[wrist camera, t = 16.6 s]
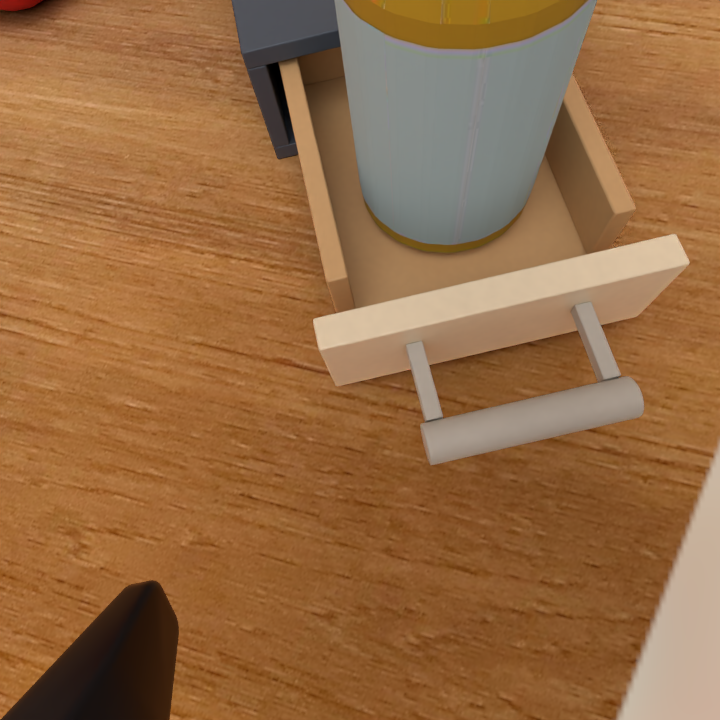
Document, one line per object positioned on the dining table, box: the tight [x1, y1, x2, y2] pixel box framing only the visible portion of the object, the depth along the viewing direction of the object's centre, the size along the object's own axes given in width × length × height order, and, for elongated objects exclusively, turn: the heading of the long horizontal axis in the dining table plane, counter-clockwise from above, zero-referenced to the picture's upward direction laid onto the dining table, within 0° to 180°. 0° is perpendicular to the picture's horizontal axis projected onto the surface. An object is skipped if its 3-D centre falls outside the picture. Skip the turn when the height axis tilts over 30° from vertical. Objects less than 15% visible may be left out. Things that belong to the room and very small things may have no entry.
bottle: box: [334, 0, 597, 253], centre depth 16 cm, size 7×7×15 cm
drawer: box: [279, 47, 690, 465], centre depth 21 cm, size 20×12×4 cm, turn 12°
